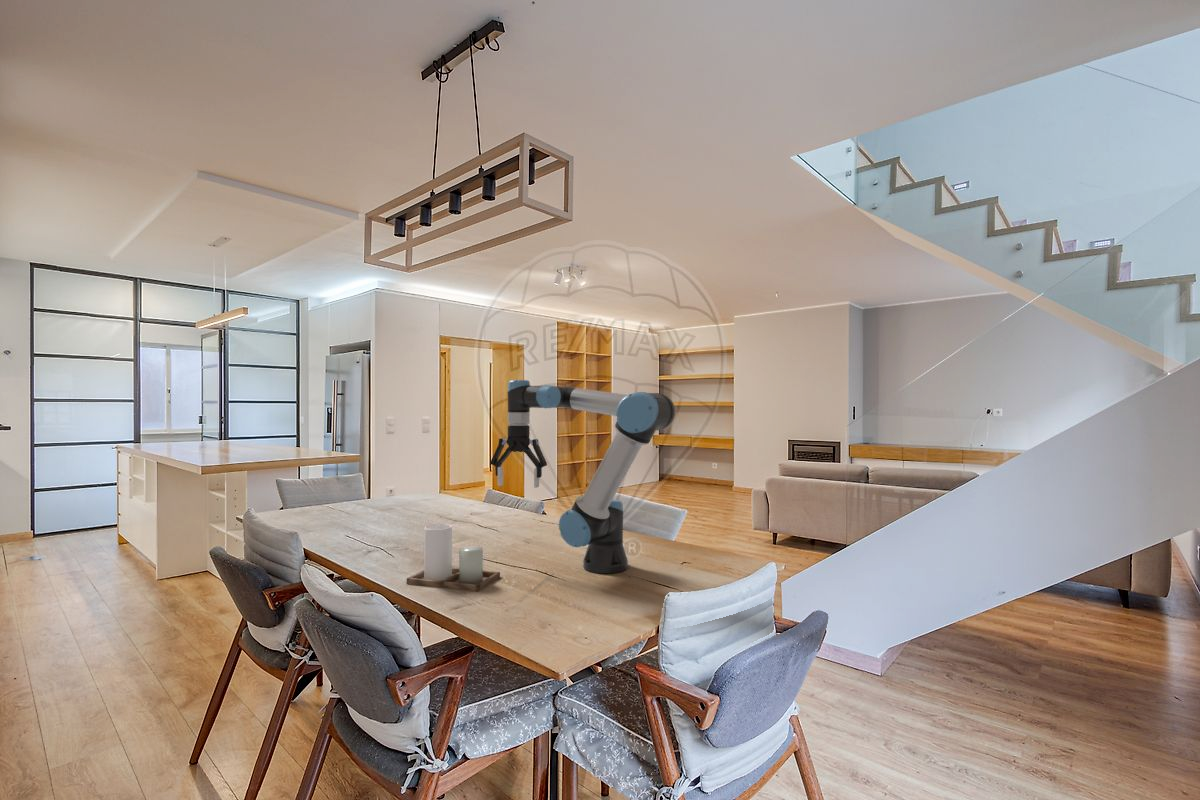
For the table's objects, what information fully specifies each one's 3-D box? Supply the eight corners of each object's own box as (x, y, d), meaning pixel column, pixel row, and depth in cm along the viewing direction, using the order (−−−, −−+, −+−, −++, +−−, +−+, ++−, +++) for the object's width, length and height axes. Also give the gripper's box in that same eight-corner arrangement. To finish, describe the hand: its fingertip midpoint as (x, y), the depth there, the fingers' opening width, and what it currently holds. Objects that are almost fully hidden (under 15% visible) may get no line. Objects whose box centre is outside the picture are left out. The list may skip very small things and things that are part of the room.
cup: (455, 574, 179) (455, 524, 179) (446, 583, 170) (446, 530, 170) (430, 573, 179) (430, 523, 179) (419, 582, 171) (420, 529, 171)
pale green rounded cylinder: (486, 579, 174) (486, 547, 174) (475, 586, 167) (475, 552, 167) (466, 577, 176) (466, 545, 176) (454, 584, 169) (454, 551, 169)
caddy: (499, 580, 177) (500, 572, 177) (478, 594, 163) (478, 586, 163) (432, 573, 183) (432, 565, 183) (406, 586, 170) (406, 578, 170)
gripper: (556, 424, 195) (556, 486, 195) (490, 423, 202) (490, 483, 202) (548, 425, 188) (548, 489, 188) (480, 424, 195) (480, 486, 194)
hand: (518, 486), depth 195 cm, fingers open, 13 cm apart
